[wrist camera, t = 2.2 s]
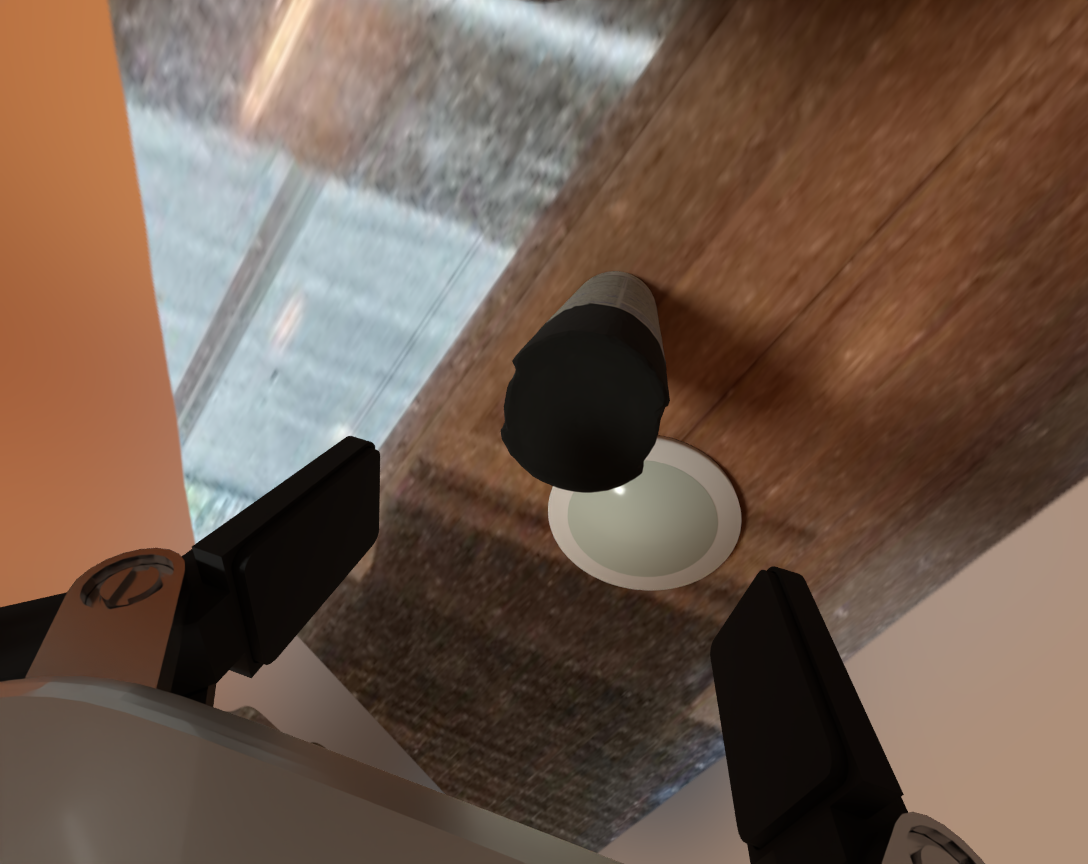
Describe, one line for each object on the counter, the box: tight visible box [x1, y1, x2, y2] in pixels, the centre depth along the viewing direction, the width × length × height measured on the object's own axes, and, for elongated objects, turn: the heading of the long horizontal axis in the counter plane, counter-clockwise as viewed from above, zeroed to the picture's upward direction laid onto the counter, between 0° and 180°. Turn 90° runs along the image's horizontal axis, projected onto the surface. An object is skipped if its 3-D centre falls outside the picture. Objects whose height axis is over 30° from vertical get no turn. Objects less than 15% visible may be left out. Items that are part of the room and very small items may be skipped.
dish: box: [548, 435, 742, 590], centre depth 40 cm, size 18×18×1 cm
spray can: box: [501, 271, 670, 493], centre depth 23 cm, size 7×7×20 cm
